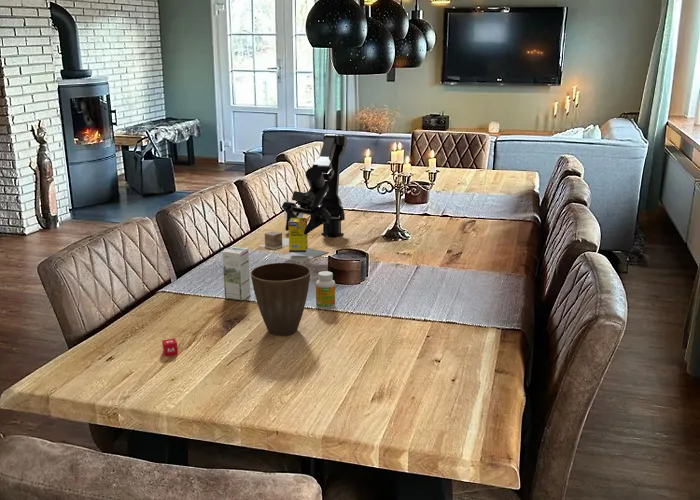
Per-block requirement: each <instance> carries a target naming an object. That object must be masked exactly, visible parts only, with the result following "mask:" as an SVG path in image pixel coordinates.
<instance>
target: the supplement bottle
mask: <svg viewBox="0 0 700 500" xmlns="http://www.w3.org/2000/svg"><path fill="white" fill-rule="evenodd" d="M333 276H334V274H333V272H331V271H327V270H326V271H320V272H318V273H317V277H318V279H317V280H316V282H315V306H316V307H317V308H318V309H322V310H330V309H333V308H335V306H336V281H335V280H334V279H333Z"/></svg>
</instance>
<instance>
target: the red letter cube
mask: <svg viewBox="0 0 700 500" xmlns="http://www.w3.org/2000/svg"><path fill="white" fill-rule="evenodd" d="M161 341H162V352H163V355H164V357H171V356H177V355H179V352H178V351H179V350H178V342H177V340H176V338H170V339H163V340H161Z"/></svg>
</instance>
